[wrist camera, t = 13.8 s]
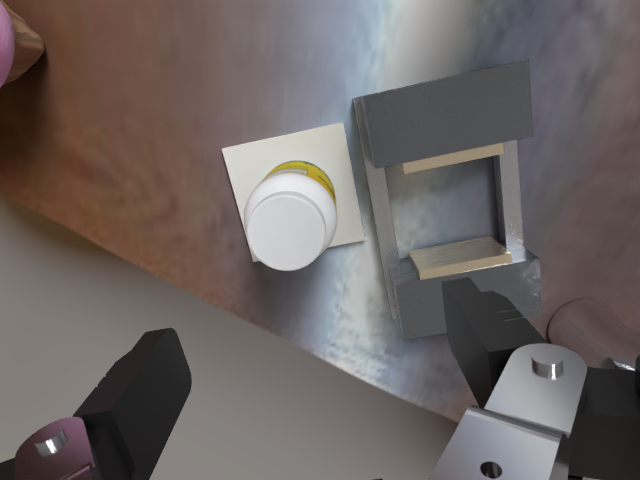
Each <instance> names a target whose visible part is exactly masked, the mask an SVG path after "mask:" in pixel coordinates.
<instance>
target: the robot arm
mask: <svg viewBox="0 0 640 480" xmlns="http://www.w3.org/2000/svg"><path fill="white" fill-rule="evenodd" d="M442 296H443V304H444V313H445V321H446V330H447V335H448V340H449V343H450V347H451V349H452V352H453V354H454V356H455V358H456V360H457V362H458V364H459V366H460V368H461V370H462V372H463V374H464V376H465V378H466V380H467V382H468V384H469V386H470V388H471V391H472V393H473V395H474V397H475V399H476V401H477V403H478V405H479V407H477V406H474V405H472V406H470V407H469V408H468V409H467V411H466V413H465V414H464V416H463V418H462V420H461V422H460V423H459V425H458V427H457V429H456V431H455V433H454V435H453V436H452V438H451V440H450V442H449V443H448V445H447V447H446V449H445V451H444V452H443V454H442V456H441V458H440V460H439V462H438V464H437V465H436V467H435V469H434V471H433V473H432V475H431V476H430V478H429V480H586V479H587V478H594V479H600V480H640V355H639V356H638V357H637V359H636V364H635V370H619V369H602V368H593V367H588V366H587V365H586V363H585V361H584V360H583V358H582V357H581V356H579V355H578V354H577V353H575V352H573V351H572V350H569V349H567V348H565V347H562V346H558V345H553V344H548V343H547V342H546V340H545V339H544V338H543V337H542V336H541V335H540V334H539V333H538V331H537V330H536V329H535V328H534V327H533V326H532V325H531V324H530V323H529V321H528V320H527V319H526V318H524V316H523V315H522V314H521V313H520V311H519V310H517V309H516V307H515V306H514V305H513V304H512V302H511V301H510V300H509V299H508V298H507V297H505V296H503V295H501V294H498V293H496V292H494V291H492V290H491V291H485V292H481V291H480V290H479V289H478V288H477V286H476V285H475V284H474V282H473V281H472V280H471V279H470V278H469V277H465V278H459V279H453V280H448V281H443V282H442ZM191 383H192V380H191V372H190V369H189V366H188V363H187V360H186V358H185V355H184V352H183V349H182V347H181V344H180V341H179V338H178V335H177V333H176V331H175V330H174V329H172V328H166V329H160V330H154V331H149V332H146V333H144V335H143V336H142V337H141V338H140V340H139V341H138V342H137V344H136V345H135V346H134V347H133V349H132V350H131V351H130V352H128V353H127V354H126V355H124V356H123V357H122V358H121V359H119V360H118V361H117V362H115V364H114V365H113V366H112V367H111V369H110V370H109V371H108V372H107V374H106V377H103V379H102V380H101V381H100V382H99V384H98V387H95V389H94V390H93V391H92V392H91V394H90V395H89V396H88V397H87V399H86V400H85V401H84V402H83V404H82V405H81V406H80V407H79V409H78V410H77V411H76V412H75V414H74V415H73V416H72V417H67V418H63V419H59V420H57V421H54V422H52V423H50V424H48V425H46V426H44V427H43V428H41V429H39V430H38V431H36V432H35V433H34V434H32V435H31V436H30V437H29V438H28V439H26V440H25V441H24V443H23V444H22V445H21V446H20V447H19V449H18V450H17V452H16V454H15V458H13V459H10V460H7V461H4V462H2V463H0V480H149V479H150V476H151V474H152V472H153V470H154V468H155V466H156V464H157V461H158V459H159V457H160V455H161V453H162V451H163V449H164V446H165V444H166V442H167V440H168V437H169V436H170V434H171V432H172V429H173V427H174V425H175V423H176V421H177V419H178V417H179V414H180V412H181V410H182V408H183V406H184V404H185V401H186V399H187V397H188V395H189V393H190V390H191ZM375 480H382V479H375Z"/></svg>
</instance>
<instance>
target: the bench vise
mask: <svg viewBox="0 0 640 480" xmlns="http://www.w3.org/2000/svg"><path fill="white" fill-rule="evenodd" d="M353 103H354V109H355V114H356V120H357V125H358V131H359V137H360V142H361V148H362V154H363V159H364V165H365V170H366V176H367V182H368V187H369V193H370V198H371V204H372V210H373V215H374V221H375V226H376V232H377V238H378V243H379V249H380V255H381V260H382V266H383V271H384V277H385V283H386V288H387V294H388V299H389V305H390V311H391V314H392V318H393V319H398V322H399V325H400V328H401V331H402V334H403V337H404V340H409V339H415V338H421V337H426V336H432V335H438V334H444V333H447V330H446V321H445V313H444V304H443V296H442V282H443V281H448V280H453V279H459V278H465V277H469V278H470V279H471V280H472V281H473V282H474V284H475V285H476V286H477V288H478V289H479V290H480V291H481V292H485V291H491V290H492V291H494V292H496V293H498V294H501V295H503V296H505V297H507V298H508V299H509V300H510V301H511V302H512V304H513V305H514V306H515V307H516V309H517V310H519V311H520V313H521V314H522V315H523V316H524V318H526V319H529V318H535V317H541V316H542V300H541V281H540V263H539V258H538V257H537V256H535V255H534V254H533V253H531V252H530V251H528V250H527V249H526V248H524V244H523V229H522V213H521V198H520V183H519V167H518V152H517V139H522V138H527V137H532V136H533V132H532V113H531V94H530V75H529V60H524V61H519V62H515V63H510V64H505V65H501V66H496V67H492V68H487V69H483V70H478V71H474V72H469V73H465V74H460V75H456V76H451V77H447V78H442V79H438V80H433V81H429V82H424V83H420V84H415V85H411V86H406V87H402V88H398V89H393V90H389V91H384V92H380V93H375V94H371V95H366V96H362V97H357V98H353ZM490 156H493V163H494V175H495V187H496V199H497V211H498V223H499V235H500V240H499V241H496V240H494V239H493V238H492V237H491V236H486V237H480V238H475V239H470V240H465V241H460V242H454V243H449V244H444V245H439V246H433V247H428V248H423V249H418V250H413V251H409V258H404V259H399V255H398V249H397V243H396V237H395V231H394V225H393V219H392V213H391V207H390V201H389V195H388V189H387V182H386V176H385V170H384V167H388V166H393V165H395V166H396V167H397V168H398V169H400V170H401V171H402V172H403V173H404V174H408V173H413V172H417V171H422V170H427V169H432V168H437V167H442V166H446V165H451V164H456V163H461V162H466V161H471V160H476V159H480V158H485V157H490Z"/></svg>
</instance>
